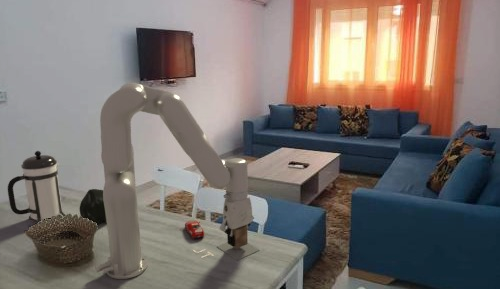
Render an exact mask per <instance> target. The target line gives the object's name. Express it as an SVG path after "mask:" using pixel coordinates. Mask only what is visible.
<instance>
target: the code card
mask: <svg viewBox="0 0 500 289" xmlns="http://www.w3.org/2000/svg"><path fill="white" fill-rule="evenodd" d="M192 251H193V252H194V253H195V254H196V255H197V254H200V253H202V252H205V251H206V253H207V254H205V255H202V256H200V258H201V259H203V258H205V257H207V256H212V257H215V254H213V253H211V251H207V249H206V248H204V249H202V250H199V251H197V250H195V249H192Z"/></svg>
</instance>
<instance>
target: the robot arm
mask: <svg viewBox="0 0 500 289" xmlns="http://www.w3.org/2000/svg"><path fill="white" fill-rule="evenodd" d="M139 112H143V113H146V114H151V115H157V116H159V117H160V119H161V120H162V122H163V123H164V124H165V126H166V127H167V129H168V130H169V132H170V133H171V135H172V136H173V137H174V139H175V140H176V141H177V143H178V144H179V146H180V148H182V150H183V152H185V154H186V155H187V156H188V157H189V159H191V161H192V162H193V163H194V165H195V166H196V168H197V170H199V172H200V173H201V175H202V176H203V178H204V179H205V181H206V182H207V184H208V185H209V186H210V187H211V188H213V189H216V190H222V189H224V188H225V194H223V198H224V200H223V201H224V202H223V210H222V212H223V213H222V223H221V225H220V226H219V230H220V232H223V233H225V234H226V236H227V242H228V244H230V245H231V246H235V238H234V235H233V233H234V229H237V228H239V227H242V226H245V225H247V231H249V229H250V228H249V227H250V225H251V224H252V222H253V221H254V219H255V217H254V215H253V208H252V202H251V197H250V196H249V195H248V194H249V192H248V191H249V190H248V188H249V186H248V184H249V183H248V179H249V178H248V162H247V160H246V159H244V158H237V157H236V158H229V159H222V158H220V156H219V154H218V153H217V151H216V150H215V148H214V147H213V145H212V144H211V142H210V140H209V139H208V137H207V135H206V134H205V132H204V131H203V128H201V126H200V125H199V123H198V122H197V120H196V119H195V117H194V116H193V114H192V113H191V111H190V109H189V108H188V107H187V105H186V103H185V102H184V101H183V100H182V98H181V97H180V96H178V94H176V93H175V92H172V91H168V90H163V89H159V88H155V87H152V86H148V85H143V84H141V83H137V82H127V83H125V84H123V85H122V86H120V88H119V89H118V90H116V91H115V92H113V93H112V94H111V95H110V96H108V98H107V99H106V100H105V102H104V104H103V105H102V108H101V110H100V118H99V119H100V120H99V124H100V126H99V127H100V143H101V154H100V156H101V158H100V159H101V162H102V164H103V173H104V184H103V189H102V190H103V201H104V207H105V213H106V222H105V223H106V227H107V228H106V229H107V236H108V245H109V255H110V256H109V257H107V261H105V262H104V263H102V264H98V265H96V266H95V267H94V268H95V272H96V273H99V272H102V274H107V276H109V277H110V278H112V279H114V280H115V279H116V280H126V279H132V278H134V277H136V276H139V275H141V274H143V273H144V271H145V270H146V269H148V260H147V259H146V258H145V257H144V256H143V255H142V254H143V253H142V246H141V233H140V221H139V209H138V194H137V193H138V192H137V184H136V176H135V175H136V174H135V161H134V160H135V159H134V158H135V157H134V156H135V155H134V153H135V152H134V147H133V144H132V129H131V128H132V127H131V124H132V123H131V121H132V118H133V117H134V115H136V114H137V113H139ZM230 229H231V230H230Z"/></svg>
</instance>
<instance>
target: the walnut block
mask: <svg viewBox="0 0 500 289" xmlns="http://www.w3.org/2000/svg"><path fill="white" fill-rule="evenodd" d="M230 230H231V229H230ZM233 235H234V238H235V246H233V247H235V248H236V249H237V248H239V247H242V246H244V245H246V244H248V243H249V242H248V230H247V225H245V226H242V227H239V228H237V229H234V233H233Z"/></svg>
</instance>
